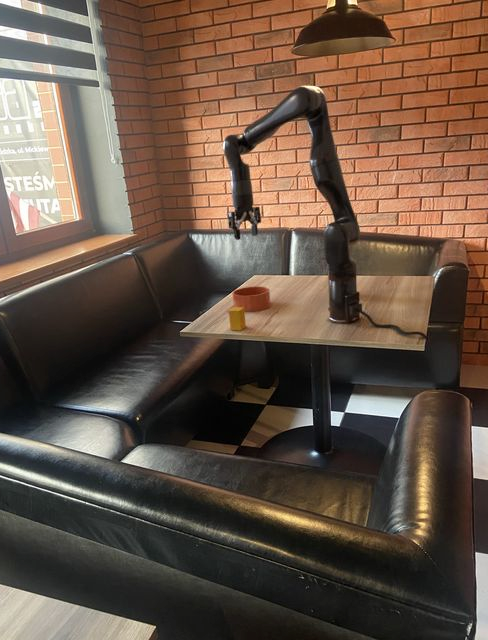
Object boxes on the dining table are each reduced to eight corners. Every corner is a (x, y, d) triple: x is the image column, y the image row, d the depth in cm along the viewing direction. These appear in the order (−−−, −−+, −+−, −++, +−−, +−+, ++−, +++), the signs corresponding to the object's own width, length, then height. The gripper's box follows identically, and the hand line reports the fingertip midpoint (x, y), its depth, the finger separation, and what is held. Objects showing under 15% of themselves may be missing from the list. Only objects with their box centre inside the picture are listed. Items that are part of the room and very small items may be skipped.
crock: (277, 304, 208) (276, 289, 205) (250, 313, 199) (249, 298, 197) (253, 299, 218) (252, 284, 216) (226, 307, 210) (225, 293, 208)
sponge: (245, 326, 186) (244, 307, 183) (241, 330, 182) (239, 310, 180) (235, 326, 187) (233, 307, 185) (230, 329, 184) (228, 310, 182)
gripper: (234, 195, 188) (239, 241, 193) (263, 190, 196) (267, 234, 202) (220, 195, 193) (225, 240, 199) (249, 190, 202) (253, 233, 207)
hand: (246, 237), depth 200 cm, fingers open, 8 cm apart
